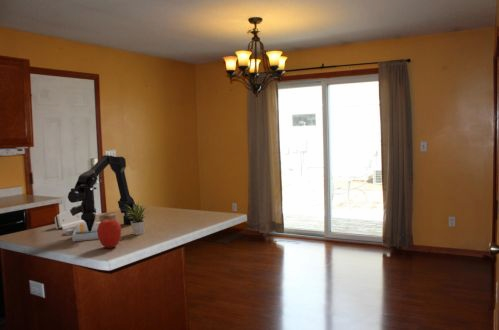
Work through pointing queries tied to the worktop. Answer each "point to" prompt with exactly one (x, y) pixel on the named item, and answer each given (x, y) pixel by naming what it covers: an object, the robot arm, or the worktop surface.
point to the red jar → (109, 233)
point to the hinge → (67, 220)
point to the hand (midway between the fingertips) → (90, 230)
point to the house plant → (137, 219)
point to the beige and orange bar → (83, 227)
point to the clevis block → (102, 217)
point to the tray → (84, 236)
